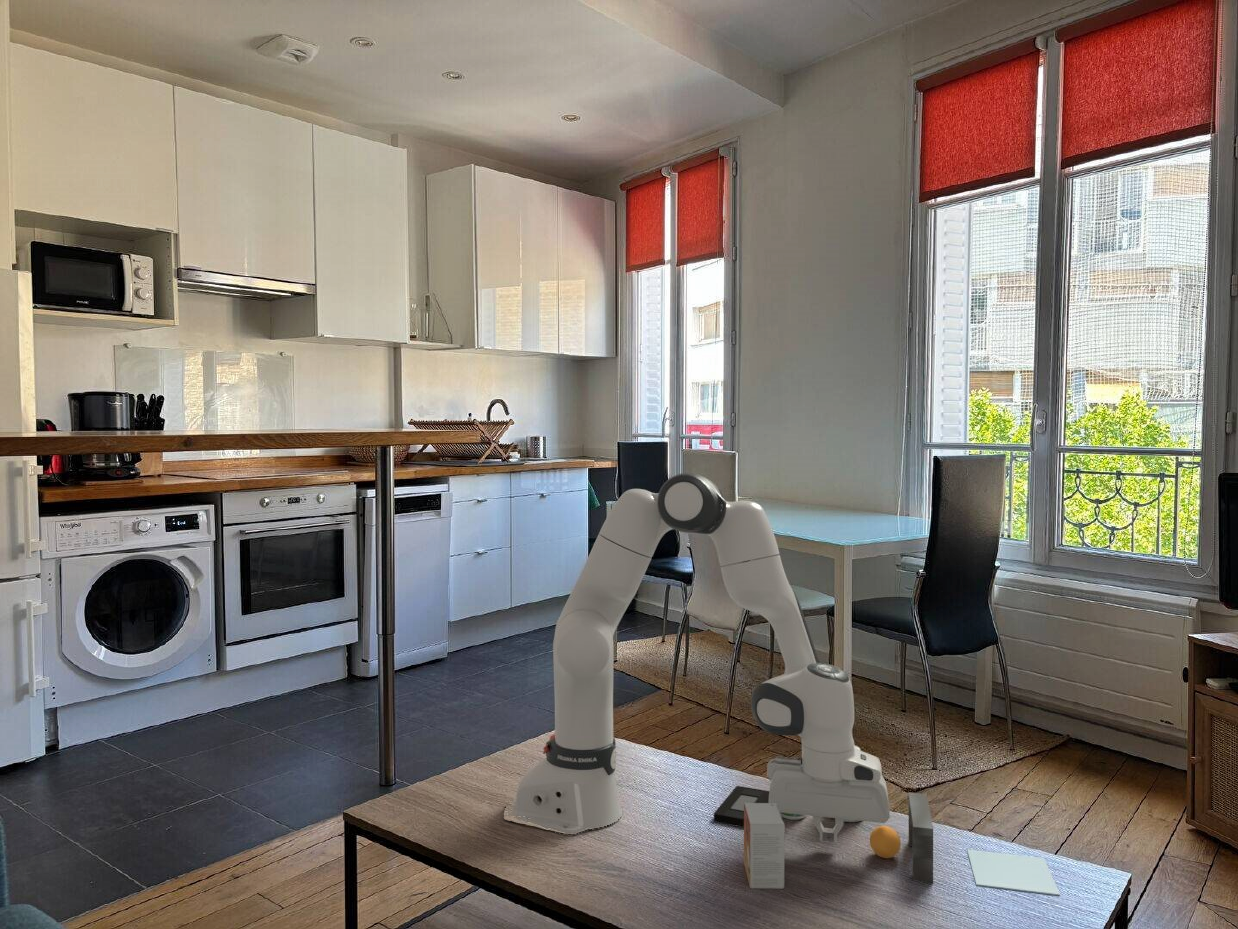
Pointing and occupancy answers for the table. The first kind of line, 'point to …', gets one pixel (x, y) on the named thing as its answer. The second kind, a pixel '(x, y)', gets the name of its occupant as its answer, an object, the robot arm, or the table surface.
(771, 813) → the small box
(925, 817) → the bridge
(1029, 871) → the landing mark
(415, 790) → the table surface
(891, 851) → the ball
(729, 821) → the vhs tape
